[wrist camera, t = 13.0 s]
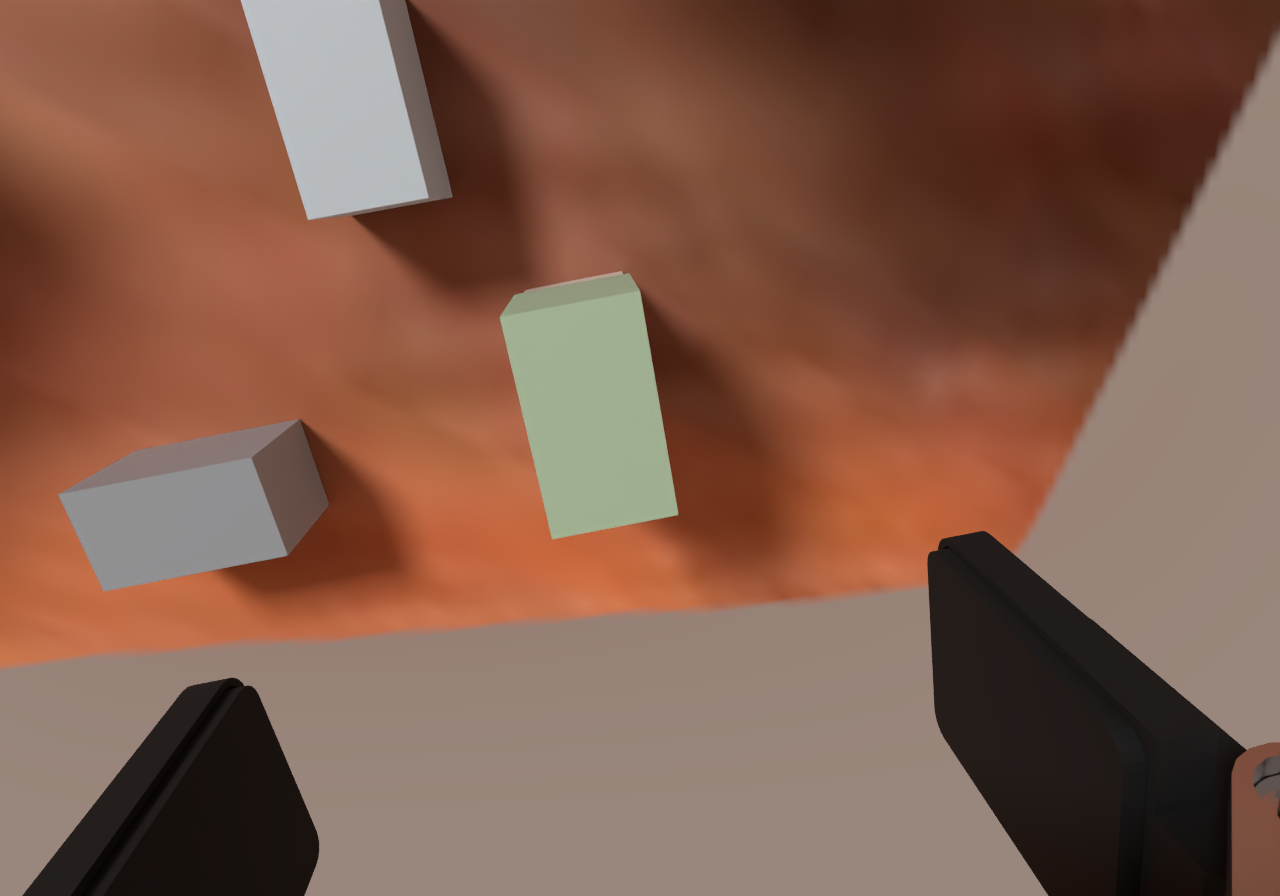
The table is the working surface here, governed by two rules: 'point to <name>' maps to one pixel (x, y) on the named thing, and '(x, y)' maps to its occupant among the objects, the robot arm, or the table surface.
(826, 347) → the table surface
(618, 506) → the sage brick
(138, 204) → the table surface
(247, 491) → the slate brick
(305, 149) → the pale blue brick
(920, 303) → the table surface
